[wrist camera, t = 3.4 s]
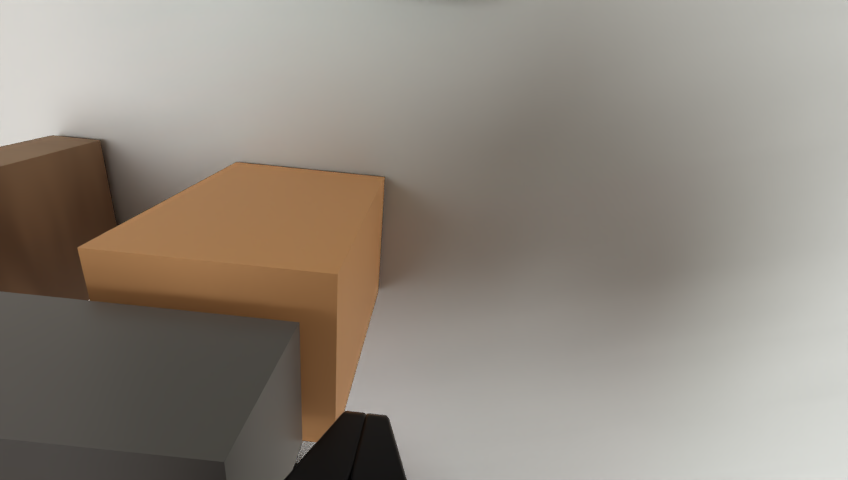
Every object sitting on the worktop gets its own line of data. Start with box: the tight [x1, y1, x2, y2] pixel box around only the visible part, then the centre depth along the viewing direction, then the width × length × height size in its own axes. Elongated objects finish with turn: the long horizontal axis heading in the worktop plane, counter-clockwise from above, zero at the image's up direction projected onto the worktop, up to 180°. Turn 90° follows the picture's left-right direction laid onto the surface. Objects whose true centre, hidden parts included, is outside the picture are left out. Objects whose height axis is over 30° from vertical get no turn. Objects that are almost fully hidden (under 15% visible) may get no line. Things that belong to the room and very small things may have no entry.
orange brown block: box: [77, 162, 385, 442], centre depth 13 cm, size 4×5×7 cm
